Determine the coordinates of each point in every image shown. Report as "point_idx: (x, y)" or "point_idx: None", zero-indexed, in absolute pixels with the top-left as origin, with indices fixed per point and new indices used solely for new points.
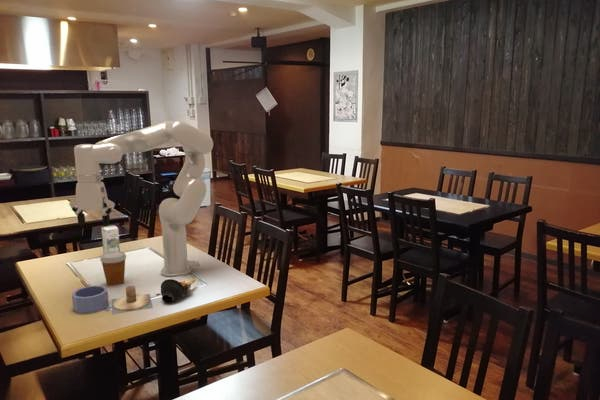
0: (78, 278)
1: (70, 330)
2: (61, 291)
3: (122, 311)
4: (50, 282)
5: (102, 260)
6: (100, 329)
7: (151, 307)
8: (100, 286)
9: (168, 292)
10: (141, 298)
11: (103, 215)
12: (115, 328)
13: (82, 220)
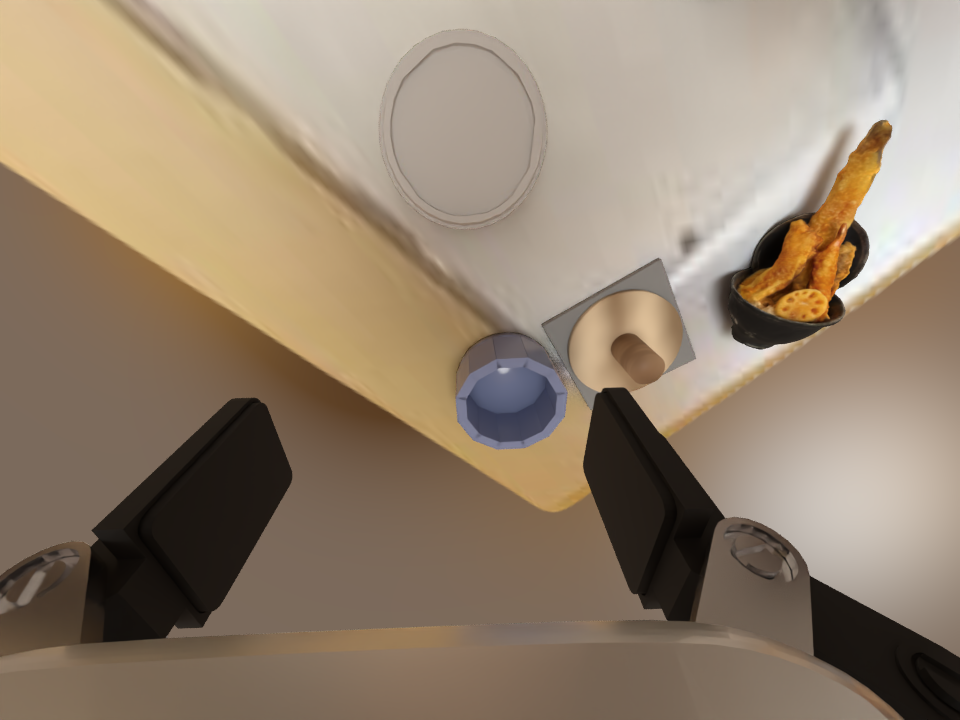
0: (234, 110)
1: (525, 475)
2: (303, 277)
3: None
4: (158, 190)
5: (432, 216)
6: None
7: (691, 357)
8: (523, 365)
9: (776, 344)
10: (653, 325)
11: (652, 594)
12: None
13: (249, 487)
